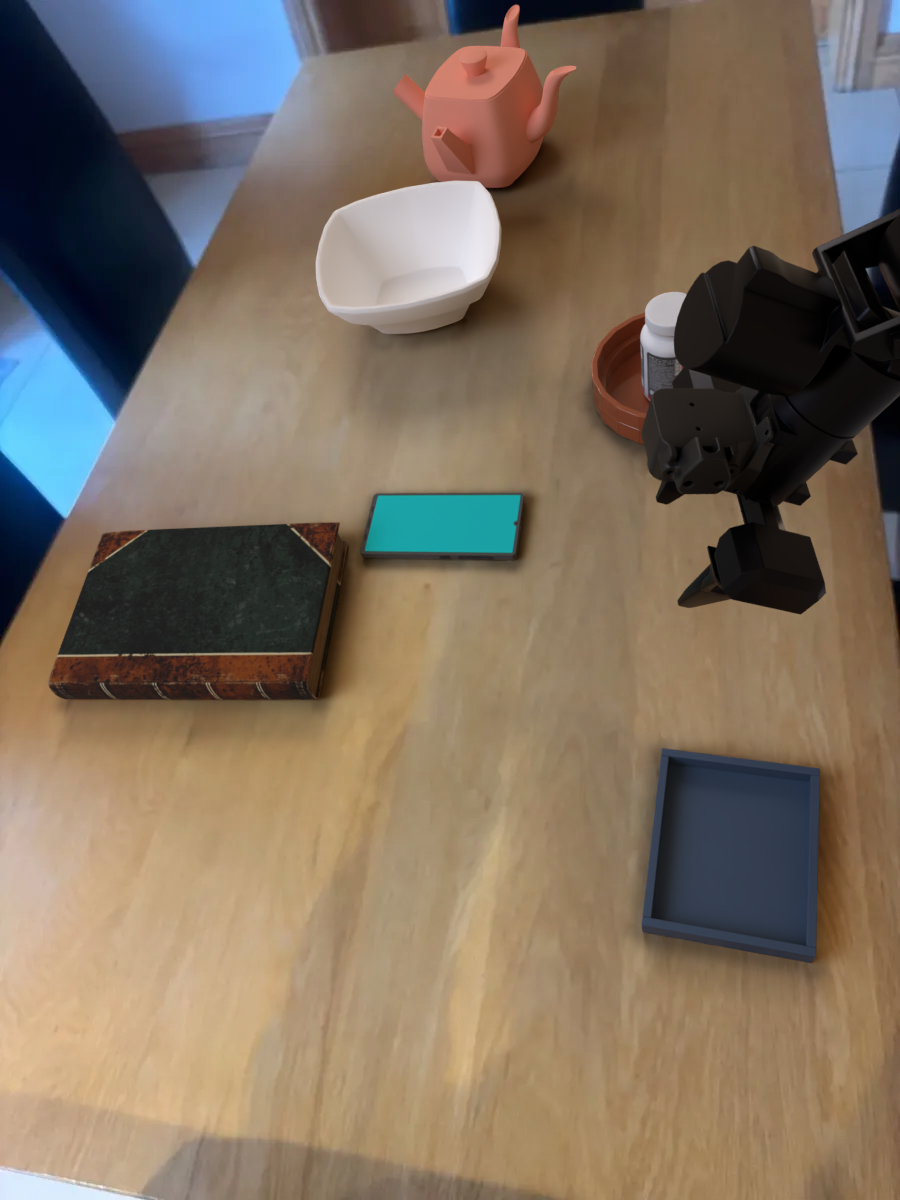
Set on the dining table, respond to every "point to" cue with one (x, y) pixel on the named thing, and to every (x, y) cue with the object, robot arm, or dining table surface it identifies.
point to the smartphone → (444, 526)
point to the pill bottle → (660, 343)
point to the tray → (735, 854)
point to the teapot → (485, 111)
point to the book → (204, 614)
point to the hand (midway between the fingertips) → (671, 551)
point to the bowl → (409, 256)
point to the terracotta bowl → (621, 379)
